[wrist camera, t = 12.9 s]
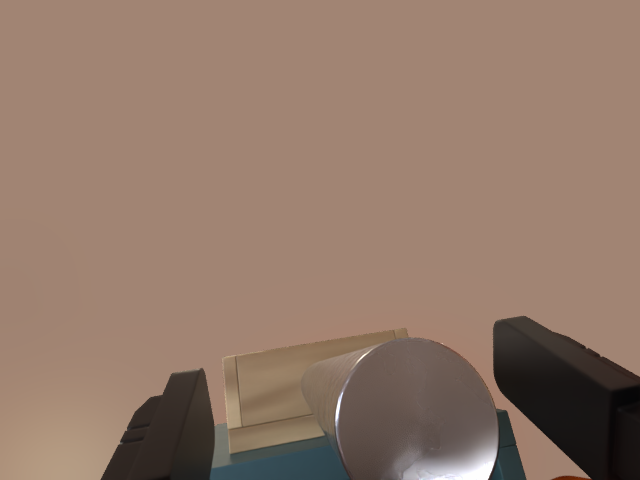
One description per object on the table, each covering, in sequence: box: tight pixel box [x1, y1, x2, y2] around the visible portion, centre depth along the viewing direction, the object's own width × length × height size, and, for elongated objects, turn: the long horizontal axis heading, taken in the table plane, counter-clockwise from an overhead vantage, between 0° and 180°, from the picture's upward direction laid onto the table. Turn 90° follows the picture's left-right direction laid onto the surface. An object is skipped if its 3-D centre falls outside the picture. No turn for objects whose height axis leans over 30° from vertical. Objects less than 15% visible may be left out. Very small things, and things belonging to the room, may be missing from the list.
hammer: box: [222, 328, 500, 480], centre depth 20 cm, size 29×11×5 cm, turn 4°
